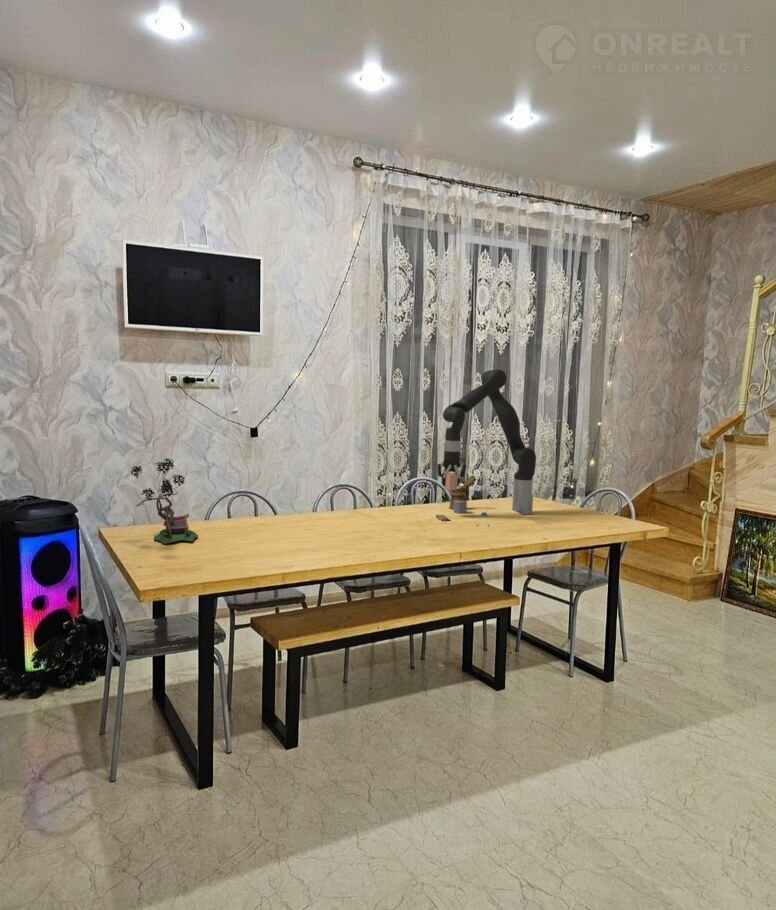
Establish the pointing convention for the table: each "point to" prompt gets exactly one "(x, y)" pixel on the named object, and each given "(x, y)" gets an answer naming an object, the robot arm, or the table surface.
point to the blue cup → (460, 506)
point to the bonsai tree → (174, 525)
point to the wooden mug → (461, 492)
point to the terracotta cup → (451, 481)
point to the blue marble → (484, 514)
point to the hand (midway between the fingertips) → (450, 485)
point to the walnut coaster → (442, 518)
